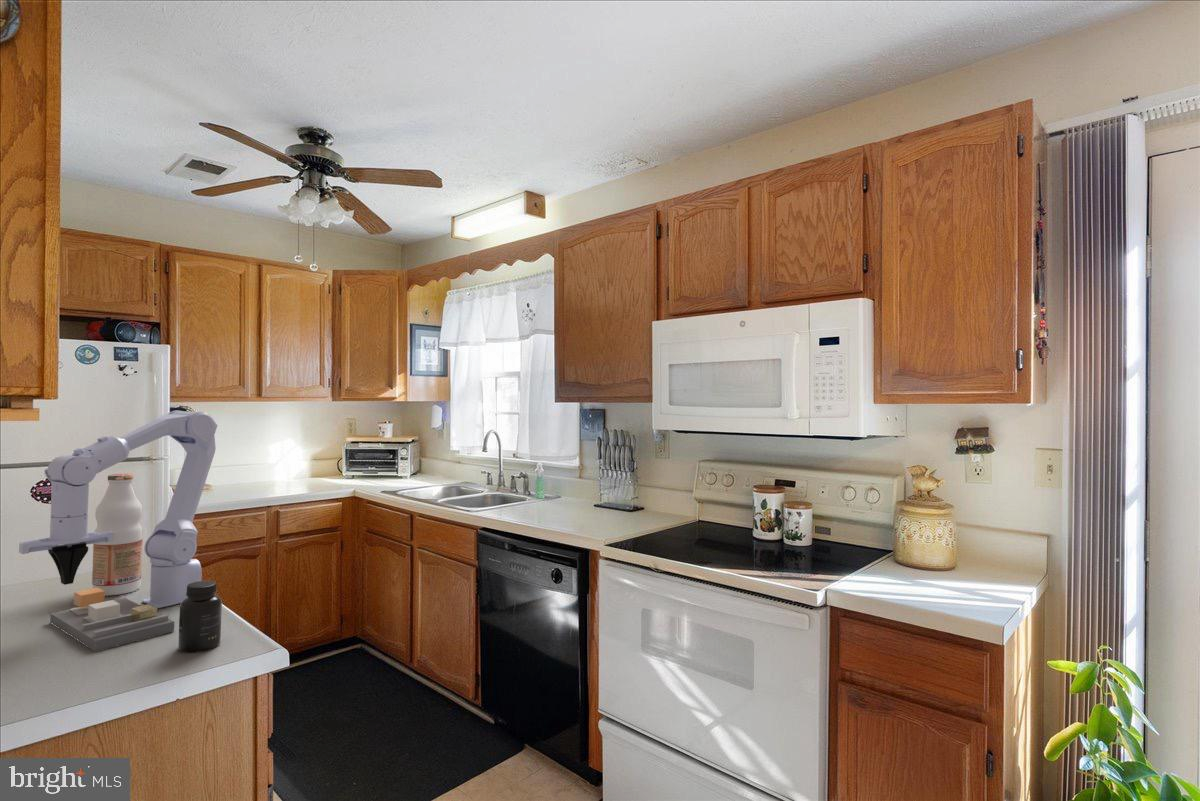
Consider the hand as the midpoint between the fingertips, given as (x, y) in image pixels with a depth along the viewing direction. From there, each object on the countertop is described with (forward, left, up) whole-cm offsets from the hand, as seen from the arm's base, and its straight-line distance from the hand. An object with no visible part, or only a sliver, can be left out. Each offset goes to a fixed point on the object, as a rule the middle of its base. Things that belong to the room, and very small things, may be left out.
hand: (67, 583), depth 125 cm
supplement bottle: (-12, +29, -10) cm, 33 cm away
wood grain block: (-9, +12, -7) cm, 17 cm away
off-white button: (-5, +4, -7) cm, 10 cm away
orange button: (-5, -4, -6) cm, 9 cm away
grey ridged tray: (-6, +5, -9) cm, 12 cm away
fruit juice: (-16, -22, -10) cm, 29 cm away
